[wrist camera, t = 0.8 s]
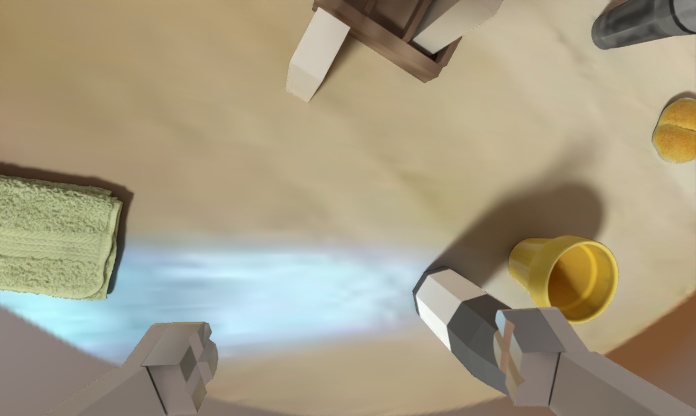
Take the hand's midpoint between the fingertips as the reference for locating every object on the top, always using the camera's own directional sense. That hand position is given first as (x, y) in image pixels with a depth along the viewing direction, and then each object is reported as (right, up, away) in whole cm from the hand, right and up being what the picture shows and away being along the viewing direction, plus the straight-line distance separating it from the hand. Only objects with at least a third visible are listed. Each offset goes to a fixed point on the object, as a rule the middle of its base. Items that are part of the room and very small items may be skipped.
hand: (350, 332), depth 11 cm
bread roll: (+48, +15, +45) cm, 68 cm away
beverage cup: (+35, +27, +41) cm, 60 cm away
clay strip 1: (-5, +19, +34) cm, 39 cm away
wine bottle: (+12, -8, +41) cm, 44 cm away
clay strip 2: (+10, +25, +34) cm, 44 cm away
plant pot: (+26, -4, +43) cm, 51 cm away
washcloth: (-35, +1, +32) cm, 47 cm away
